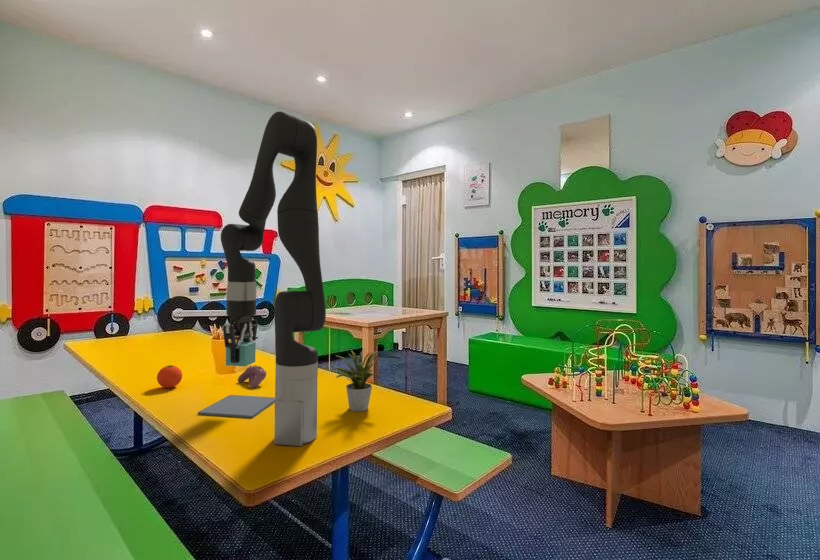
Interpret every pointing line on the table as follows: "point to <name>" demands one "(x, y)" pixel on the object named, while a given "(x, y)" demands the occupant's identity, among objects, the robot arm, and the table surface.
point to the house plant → (358, 382)
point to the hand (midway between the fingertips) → (241, 359)
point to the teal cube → (243, 354)
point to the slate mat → (239, 406)
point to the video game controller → (253, 375)
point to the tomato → (169, 376)
